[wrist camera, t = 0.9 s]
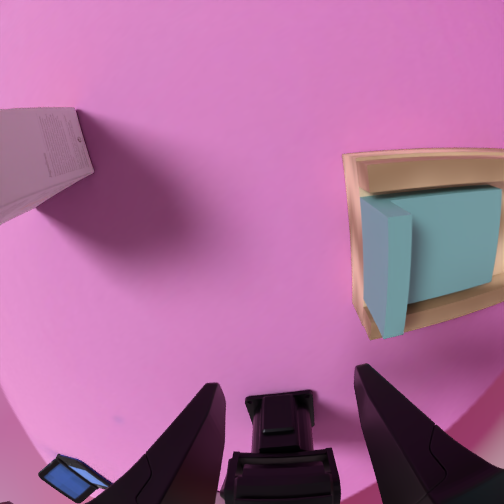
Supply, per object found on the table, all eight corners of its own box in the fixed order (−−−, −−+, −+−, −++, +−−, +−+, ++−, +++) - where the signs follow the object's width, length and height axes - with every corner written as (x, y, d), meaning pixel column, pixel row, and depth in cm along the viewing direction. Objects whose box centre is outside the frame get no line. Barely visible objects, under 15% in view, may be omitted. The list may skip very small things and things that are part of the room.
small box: (77, 106, 16) (-35, 109, 6) (97, 173, 18) (-13, 214, 8) (16, 152, 17) (-77, 179, 8) (34, 209, 19) (-56, 257, 10)
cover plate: (480, 272, 16) (511, 299, 12) (363, 299, 17) (383, 339, 14) (488, 184, 14) (528, 199, 10) (359, 197, 15) (387, 217, 11)
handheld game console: (122, 489, 46) (113, 517, 37) (88, 480, 48) (78, 504, 39) (80, 458, 40) (66, 489, 32) (48, 449, 43) (35, 475, 34)
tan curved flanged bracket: (501, 267, 19) (530, 292, 15) (352, 302, 21) (369, 342, 16) (509, 149, 15) (547, 158, 11) (341, 154, 17) (366, 160, 12)
